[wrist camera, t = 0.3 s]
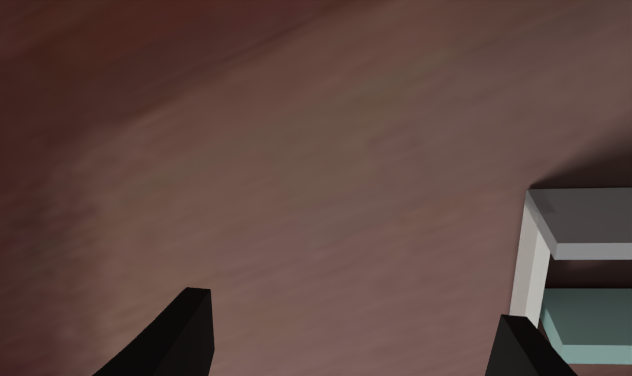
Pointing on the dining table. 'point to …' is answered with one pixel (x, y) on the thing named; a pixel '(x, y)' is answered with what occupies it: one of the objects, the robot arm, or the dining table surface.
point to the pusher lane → (568, 236)
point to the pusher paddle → (589, 324)
